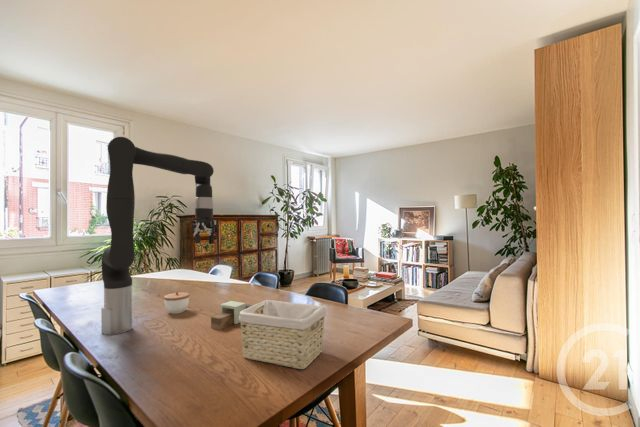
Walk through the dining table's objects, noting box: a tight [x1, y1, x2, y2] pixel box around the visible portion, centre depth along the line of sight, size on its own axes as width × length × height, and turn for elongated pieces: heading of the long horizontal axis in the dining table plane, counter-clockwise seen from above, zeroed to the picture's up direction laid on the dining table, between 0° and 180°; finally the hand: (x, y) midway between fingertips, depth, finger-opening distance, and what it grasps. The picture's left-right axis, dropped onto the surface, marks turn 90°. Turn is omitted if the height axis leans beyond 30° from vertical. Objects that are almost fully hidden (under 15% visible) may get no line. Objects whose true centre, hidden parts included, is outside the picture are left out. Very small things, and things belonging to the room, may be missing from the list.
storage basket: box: [239, 299, 327, 370], centre depth 96 cm, size 24×16×15 cm
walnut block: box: [210, 309, 235, 331], centre depth 124 cm, size 12×4×4 cm, turn 151°
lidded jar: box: [163, 291, 190, 315], centre depth 142 cm, size 11×11×9 cm
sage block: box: [219, 300, 247, 325], centre depth 128 cm, size 6×8×7 cm
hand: (204, 243), depth 136 cm, fingers open, 8 cm apart
